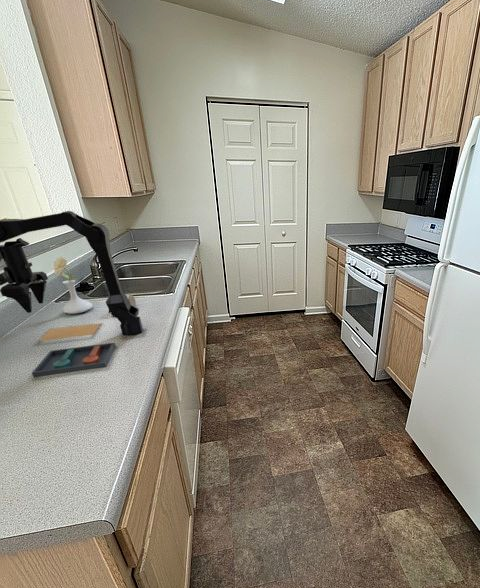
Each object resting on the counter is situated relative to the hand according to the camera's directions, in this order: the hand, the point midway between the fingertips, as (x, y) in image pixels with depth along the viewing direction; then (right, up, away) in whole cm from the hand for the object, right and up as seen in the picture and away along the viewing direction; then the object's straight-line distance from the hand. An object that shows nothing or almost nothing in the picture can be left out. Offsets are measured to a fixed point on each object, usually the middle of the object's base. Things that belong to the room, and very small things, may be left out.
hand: (35, 307), depth 112 cm
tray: (+18, -18, -5) cm, 26 cm away
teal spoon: (+15, -18, -6) cm, 24 cm away
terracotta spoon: (+23, -17, -4) cm, 29 cm away
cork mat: (+2, -9, +15) cm, 17 cm away
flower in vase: (-9, +2, +36) cm, 38 cm away
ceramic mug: (+11, +3, +38) cm, 39 cm away
